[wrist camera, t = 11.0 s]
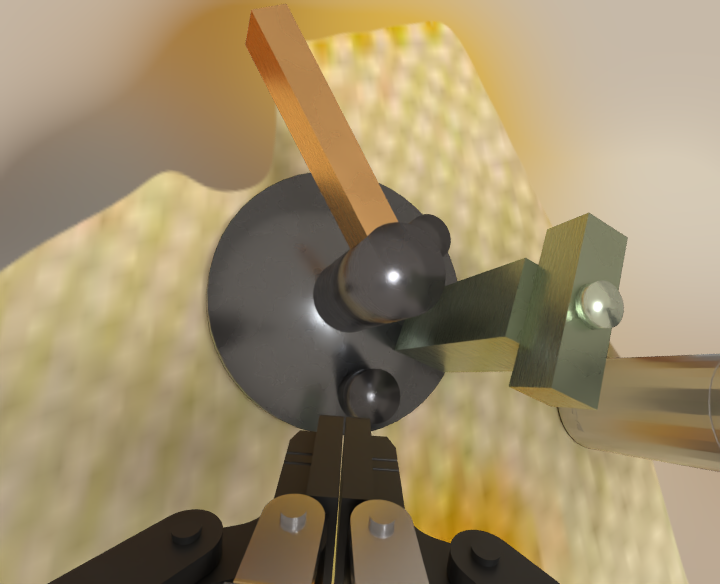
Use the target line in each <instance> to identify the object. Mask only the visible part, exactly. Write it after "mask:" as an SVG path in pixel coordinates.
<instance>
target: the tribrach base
mask: <svg viewBox="0 0 720 584" xmlns="http://www.w3.org/2000/svg"><path fill="white" fill-rule="evenodd" d="M379 185H380V187H381V189H382V191H383V193H384V195H385V197H386V199H387V201H388V203H389V205H390V207H391V209H392V211H393V212H394V214H395V216H396V218H397V220H398V222H403V223H408V224H411V225H414V226H416V227H418V228H420V229H421V230H423V231H424V232H425V233H426V234H428V235H429V236H430V237H431V238H432V239H433V241H434V242H435V243H436V245H437V246H438V248H439V250H440V252H441V254H442V257H443V260H444V264H445V271H446V280H445V286H444V290H443V292H442V295H441V297H440V299H439V300H438V302H437V303H436V304H435V305H434V306H433V307H432V308H431V309H430V310H429V311H427V312H425V313H423V314H421V315H418V316H415V317H411V318H408V319H404V320H400V321H396V322H392V323H389V324H385V325H381V326H377V327H373V328H369V329H366V330H362V331H358V332H353V333H347V332H341V331H338V330H336V329H334V328H332V327H330V326H329V325H328V324H326V323H325V322H324V321H323V319H322V318H321V317H320V315H319V314H318V312H317V310H316V307H315V304H314V298H313V292H314V286H315V282H316V280H317V278H318V276H319V275H320V273H321V272H322V271H323V270H324V269H325V268H326V267H328V266H329V265H330V264H331V263H333V262H334V261H335V260H336V259H338V258H339V257H340V256H342V255H343V254H344V253H345V252H347V251H348V250H349V249H350V248H349V246H348V244H347V242H346V240H345V238H344V236H343V234H342V232H341V230H340V228H339V226H338V224H337V222H336V220H335V218H334V217H333V215H332V213H331V211H330V209H329V207H328V205H327V203H326V201H325V199H324V197H323V195H322V193H321V191H320V189H319V187H318V185H317V183H316V182H315V180H314V178H313V176H312V174H311V173H307V174H301V175H297V176H294V177H291V178H288V179H285V180H282V181H280V182H278V183H276V184H274V185H272V186H270V187H268V188H266V189H265V190H263V191H262V192H260V193H259V194H257V195H256V196H254V197H253V198H252V199H251V200H250V201H249V202H248V203H247V204H246V205H244V206H243V207H242V208H241V210H240V211H239V212H238V213H237V214H236V216H235V217H234V218H233V219H232V220H231V222H230V223H229V225H228V227H227V228H226V230H225V232H224V233H223V235H222V237H221V239H220V241H219V244H218V246H217V248H216V251H215V253H214V257H213V261H212V264H211V268H210V272H209V277H208V286H207V294H206V297H207V317H208V323H209V329H210V333H211V336H212V339H213V343H214V346H215V349H216V351H217V353H218V355H219V357H220V360H221V362H222V364H223V366H224V367H225V369H226V370H227V372H228V374H229V375H230V377H231V378H232V380H233V381H234V382H235V384H236V385H237V386H238V387H239V388H240V389H241V390H242V392H243V393H244V394H245V395H246V396H247V397H248V398H250V399H251V400H252V401H253V402H254V403H255V404H256V405H258V406H259V407H260V408H262V409H263V410H265V411H266V412H268V413H269V414H271V415H272V416H274V417H276V418H278V419H280V420H282V421H284V422H287V423H289V424H291V425H293V426H295V427H298V428H301V429H304V430H308V431H313V432H317V427H318V421H319V416H320V415H331V416H344V422H343V435H344V432H345V421H346V417H359V418H370V424H371V431H373V430H377V429H380V428H383V427H385V426H388V425H390V424H392V423H394V422H396V421H398V420H400V419H401V418H403V417H404V416H406V415H408V414H409V413H411V412H412V411H413V410H414V409H415V408H417V407H418V406H419V405H420V404H421V403H422V402H424V400H425V399H426V398H427V397H428V396H429V395H430V394H431V393H432V391H433V390H434V389H435V388H436V386H437V385H438V383H439V382H440V380H441V379H442V377H443V375H444V373H445V372H503V371H512V376H511V380H510V384H509V387H511V388H513V389H515V390H517V391H519V392H521V393H524V394H526V395H528V396H530V397H532V398H534V399H536V400H539V401H541V402H543V403H545V404H547V405H549V406H554V407H566V408H578V409H590V410H597V409H598V403H599V398H600V392H601V386H602V380H603V375H604V369H605V363H606V358H607V352H608V346H609V341H610V335H611V329H612V327H615V326H617V325H618V324H619V323H620V321H621V320H622V317H623V312H624V305H623V300H622V297H621V295H620V293H619V291H618V290H619V284H620V278H621V272H622V267H623V260H624V255H625V250H626V244H627V237H626V236H624V235H623V234H621V233H620V232H618V231H617V230H615V229H613V228H612V227H610V226H609V225H607V224H606V223H604V222H603V221H601V220H600V219H598V218H596V217H595V216H593V215H592V214H590V213H587V214H584V215H582V216H579V217H577V218H575V219H572V220H570V221H567V222H565V223H562V224H560V225H557V226H555V227H552V228H550V229H547V232H546V236H545V241H544V245H543V249H542V253H541V257H540V261H539V265H537V264H535V263H534V262H532V261H530V260H528V259H527V258H524V259H521V260H518V261H515V262H512V263H509V264H506V265H504V266H501V267H498V268H495V269H492V270H489V271H486V272H484V273H481V274H478V275H475V276H472V277H469V278H467V279H464V280H461V281H458V282H457V278H456V274H455V270H454V268H453V265H452V262H451V259H450V256H449V254H448V250H449V248H450V243H451V238H450V233H449V230H448V228H447V226H446V225H445V224H444V222H443V221H442V220H440V219H439V218H438V217H436V216H434V215H430V214H423V215H422V214H421V213H420V212H419V211H418V209H417V208H416V207H415V206H413V205H412V204H411V203H410V202H408V201H407V200H406V199H405V198H404V197H402V196H401V195H399V194H398V193H396V192H395V191H393V190H391V189H390V188H388V187H386V186H384V185H382V184H380V183H379Z"/></svg>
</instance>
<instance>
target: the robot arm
mask: <svg viewBox="0 0 720 584" xmlns="http://www.w3.org/2000/svg"><path fill="white" fill-rule="evenodd" d="M558 408H559V413H560V417H561V420H562V422H563V425H564V427H565V429H566V430H567V432H568V433H569V435H570V436H571V437H572V438H573V439H574V440H575V441H576V442H577V443H579V444H580V445H582V446H584V447H587V448H590V449H595V450H601V451H606V452H612V453H617V454H623V455H627V456H633V457H639V458H644V459H650V460H656V461H661V462H667V463H673V464H678V465H683V466H689V467H694V468H700V469H705V470H711V471H717V472H720V354H705V355H704V354H703V355H681V356H680V355H679V356H655V357H632V358H606V363H605V369H604V375H603V380H602V386H601V392H600V398H599V403H598V409H597V410H590V409H578V408H566V407H558ZM343 422H344V416H331V415H320V416H319V421H318V427H317V432H313V431H299V432H298V433H297V434H296V435H295V436H294V437H293V438H292V439H291V440H290V442H289V446H288V449H287V454H286V457H285V460H284V464H283V467H282V471H281V475H280V478H279V482H278V486H277V489H276V493H275V497H274V499H273V500H271V501H270V502H269V503H268V504H267V505H266V506H265V507H264V509H263V511H262V513H261V516H260V517H259V518H257V519H255V520H253V521H251V522H248V523H245V524H241V525H236V526H231V527H225V528H223V526H222V522H221V521H220V519H219V518H218V517H217V516H216V515H215V514H213V513H211V512H209V511H205V510H198V509H195V510H185V511H181V512H178V513H175V514H173V515H171V516H169V517H167V518H165V519H163V520H162V521H160V522H158V523H156V524H154V525H153V526H151V527H149V528H147V529H145V530H144V531H142V532H140V533H138V534H136V535H135V536H133V537H131V538H129V539H127V540H126V541H124V542H122V543H120V544H118V545H117V546H115V547H113V548H111V549H109V550H108V551H106V552H104V553H102V554H100V555H98V556H97V557H95V558H93V559H91V560H89V561H88V562H86V563H84V564H82V565H80V566H79V567H77V568H75V569H73V570H71V571H70V572H68V573H66V574H64V575H62V576H61V577H59V578H57V579H55V580H53V581H52V582H50V583H48V584H331V581H332V570H333V558H334V547H335V535H336V524H337V512H338V501H339V512H338V529H337V545H336V562H335V578H334V584H560V583H558V582H557V581H556V580H554V579H553V578H552V577H551V576H549V575H548V574H547V573H545V572H544V571H543V570H541V569H540V568H539V567H537V566H536V565H535V564H533V563H532V562H531V561H529V560H528V559H527V558H526V557H524V556H523V555H522V554H520V553H519V552H518V551H516V550H515V549H514V548H512V547H511V546H510V545H508V544H507V543H506V542H504V541H503V540H502V539H500V538H499V537H497V536H495V535H493V534H490V533H488V532H484V531H479V530H466V531H463V532H460V533H458V534H457V535H456V536H455V537H454V538H453V539H452V541H451V543H448V542H445V541H442V540H439V539H436V538H433V537H430V536H428V535H426V534H424V533H423V532H421V531H420V530H418V529H417V528H416V527H415V526H414V525H413V521H412V519H411V517H410V515H409V514H408V513H407V511H406V510H405V508H404V501H403V494H402V487H401V481H400V474H399V467H398V462H397V454H396V448H395V446H394V445H393V444H392V443H391V441H390V440H389V439H388V438H387V437H381V436H371V424H370V418H359V417H346V421H345V432H344V444H343V455H342V467H341V454H342V438H343ZM340 470H341V480H340ZM339 486H340V496H339Z"/></svg>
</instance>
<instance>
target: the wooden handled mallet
mask: <svg viewBox="0 0 720 584" xmlns="http://www.w3.org/2000/svg"><path fill="white" fill-rule="evenodd" d="M245 45H246V47H247V49H248V51H249V53H250V55H251V57H252V59H253V61H254V63H255V65H256V67H257V69H258V71H259V73H260V75H261V76H262V78H263V80H264V82H265V84H266V86H267V88H268V90H269V92H270V94H271V96H272V98H273V100H274V102H275V104H276V106H277V108H278V110H279V111H280V113H281V115H282V117H283V119H284V121H285V123H286V125H287V127H288V129H289V131H290V133H291V135H292V137H293V139H294V141H295V143H296V145H297V146H298V148H299V150H300V152H301V154H302V156H303V158H304V160H305V162H306V164H307V166H308V168H309V170H310V172H311V174H312V176H313V178H314V180H315V182H316V183H317V185H318V187H319V189H320V191H321V193H322V195H323V197H324V199H325V201H326V203H327V205H328V207H329V209H330V211H331V213H332V215H333V217H334V218H335V220H336V222H337V224H338V226H339V228H340V230H341V232H342V234H343V236H344V238H345V240H346V242H347V244H348V246H349V248H350V249H349V250H348V251H347V252H345V253H344V254H343V255H342V256H340V257H339V258H338V259H336V260H335V261H334V262H333V263H331V264H330V265H329V266H328V267H326V268H325V269H324V270H323V271H322V272H321V273H320V275H319V276H318V278H317V280H316V282H315V286H314V292H313V298H314V304H315V307H316V310H317V312H318V314H319V315H320V317H321V318H322V319H323V321H324V322H325V323H326V324H328V325H329V326H330V327H332V328H334V329H336V330H338V331H341V332H347V333H353V332H358V331H362V330H366V329H369V328H373V327H377V326H381V325H385V324H389V323H392V322H396V321H400V320H404V319H408V318H411V317H415V316H418V315H421V314H423V313H425V312H427V311H429V310H430V309H431V308H432V307H433V306H434V305H435V304H436V303H437V302H438V300H439V299H440V297H441V295H442V292H443V290H444V286H445V280H446V271H445V264H444V260H443V257H442V254H441V252H440V250H439V248H438V246H437V245H436V243H435V242H434V241H433V239H432V238H431V237H430V236H429V235H428V234H426V233H425V232H424V231H423V230H421V229H420V228H418V227H416V226H414V225H411V224H408V223H403V222H398V220H397V218H396V216H395V214H394V212H393V211H392V209H391V207H390V205H389V203H388V201H387V199H386V197H385V195H384V193H383V191H382V189H381V187H380V185H379V183H378V181H377V179H376V177H375V175H374V173H373V172H372V170H371V168H370V166H369V164H368V162H367V160H366V158H365V156H364V154H363V152H362V150H361V148H360V146H359V144H358V142H357V140H356V138H355V136H354V134H353V132H352V131H351V129H350V127H349V125H348V123H347V121H346V119H345V117H344V115H343V113H342V111H341V109H340V107H339V105H338V103H337V101H336V99H335V97H334V95H333V93H332V92H331V90H330V88H329V86H328V84H327V82H326V80H325V78H324V76H323V74H322V72H321V70H320V68H319V66H318V64H317V62H316V60H315V58H314V56H313V54H312V53H311V51H310V49H309V47H308V45H307V43H306V41H305V39H304V37H303V35H302V33H301V31H300V29H299V27H298V25H297V24H296V21H295V19H294V17H293V15H292V13H291V12H290V10H289V8H288V6H287V4H282V5H277V6H271V7H265V8H259V9H253V10H251V14H250V20H249V26H248V32H247V38H246V44H245Z"/></svg>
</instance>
